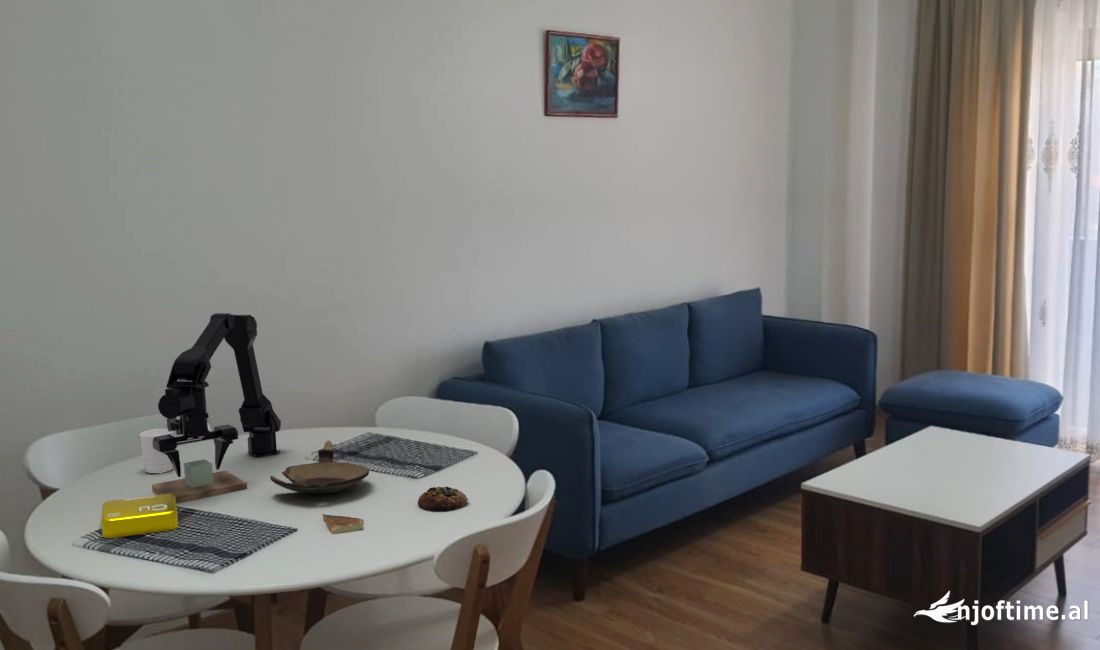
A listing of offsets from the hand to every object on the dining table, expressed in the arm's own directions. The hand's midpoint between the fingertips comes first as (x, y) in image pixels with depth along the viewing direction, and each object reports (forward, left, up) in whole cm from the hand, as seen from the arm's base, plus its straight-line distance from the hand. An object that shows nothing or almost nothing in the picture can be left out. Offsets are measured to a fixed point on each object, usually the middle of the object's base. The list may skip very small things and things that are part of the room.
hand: (198, 473), depth 252 cm
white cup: (+2, -24, -4) cm, 24 cm away
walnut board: (0, 0, -4) cm, 4 cm away
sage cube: (0, 0, -3) cm, 3 cm away
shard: (-13, +47, -5) cm, 49 cm away
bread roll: (-38, +48, -5) cm, 62 cm away
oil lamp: (-24, +19, -4) cm, 31 cm away
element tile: (+19, +16, -5) cm, 25 cm away
